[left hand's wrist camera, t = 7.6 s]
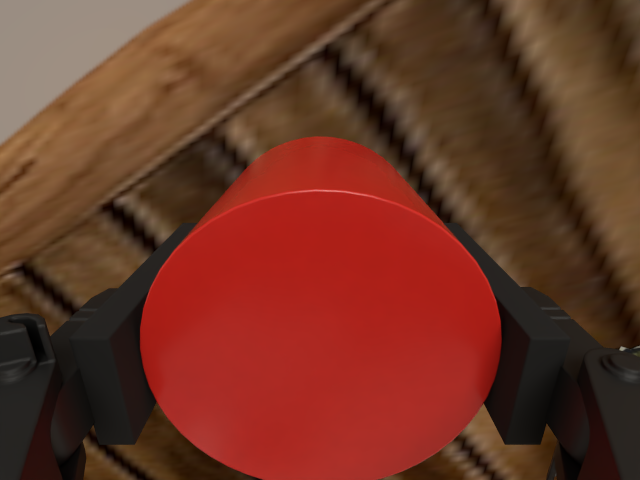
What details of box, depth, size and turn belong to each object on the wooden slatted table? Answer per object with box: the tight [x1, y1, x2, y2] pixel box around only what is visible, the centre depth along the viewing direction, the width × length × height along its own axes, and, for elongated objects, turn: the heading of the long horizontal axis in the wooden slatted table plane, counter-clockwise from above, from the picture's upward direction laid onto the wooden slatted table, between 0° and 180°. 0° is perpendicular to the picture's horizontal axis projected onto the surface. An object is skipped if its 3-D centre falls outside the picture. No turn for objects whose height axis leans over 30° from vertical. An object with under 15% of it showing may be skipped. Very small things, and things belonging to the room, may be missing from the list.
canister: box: [140, 137, 502, 480], centre depth 12 cm, size 8×8×8 cm
